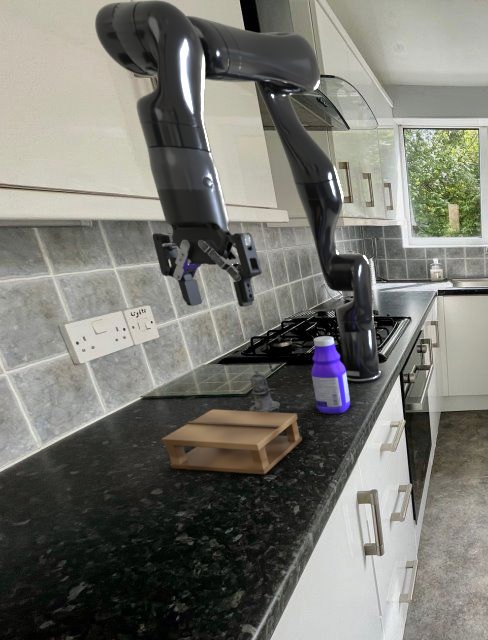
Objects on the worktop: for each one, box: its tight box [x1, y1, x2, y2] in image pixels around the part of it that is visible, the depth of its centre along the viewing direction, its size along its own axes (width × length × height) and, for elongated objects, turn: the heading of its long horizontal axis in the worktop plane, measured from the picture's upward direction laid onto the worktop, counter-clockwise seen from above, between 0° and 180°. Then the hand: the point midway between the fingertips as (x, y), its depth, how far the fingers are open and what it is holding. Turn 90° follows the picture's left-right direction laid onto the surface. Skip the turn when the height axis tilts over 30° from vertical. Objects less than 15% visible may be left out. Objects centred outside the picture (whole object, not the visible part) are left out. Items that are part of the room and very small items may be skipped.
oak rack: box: [160, 409, 303, 475], centre depth 77 cm, size 12×18×6 cm, turn 84°
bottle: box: [310, 335, 351, 415], centre depth 92 cm, size 7×6×17 cm
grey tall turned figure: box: [249, 370, 281, 413], centre depth 88 cm, size 6×6×12 cm
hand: (220, 305), depth 62 cm, fingers open, 8 cm apart
